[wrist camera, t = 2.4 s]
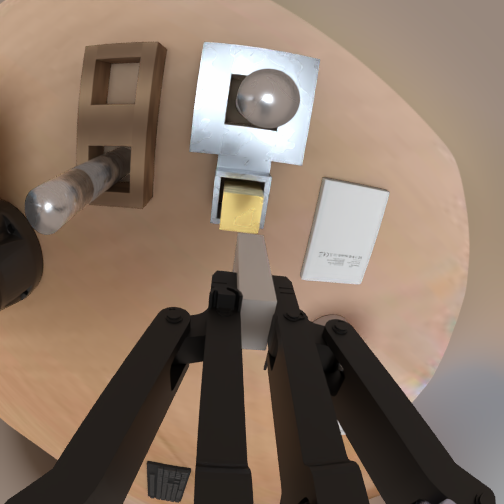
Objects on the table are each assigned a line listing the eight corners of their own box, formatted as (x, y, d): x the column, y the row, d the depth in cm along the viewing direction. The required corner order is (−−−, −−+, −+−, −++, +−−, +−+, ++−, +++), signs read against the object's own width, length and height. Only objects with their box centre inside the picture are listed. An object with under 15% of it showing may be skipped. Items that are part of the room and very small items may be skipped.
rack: (152, 197, 32) (142, 208, 29) (92, 192, 31) (77, 203, 28) (166, 49, 25) (157, 41, 22) (101, 51, 24) (85, 46, 21)
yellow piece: (221, 206, 31) (219, 229, 25) (225, 175, 29) (223, 192, 24) (253, 210, 31) (257, 233, 26) (258, 179, 30) (264, 196, 24)
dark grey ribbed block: (147, 458, 61) (146, 465, 59) (191, 466, 63) (190, 473, 61) (148, 493, 76) (148, 497, 74) (180, 498, 78) (180, 503, 76)
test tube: (108, 174, 31) (27, 232, 16) (109, 146, 29) (22, 186, 15) (135, 176, 31) (65, 236, 17) (136, 147, 30) (61, 187, 15)
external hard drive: (384, 188, 34) (357, 278, 39) (321, 175, 33) (298, 273, 38) (391, 192, 32) (361, 285, 38) (325, 179, 31) (301, 280, 37)
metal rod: (233, 115, 29) (233, 123, 15) (237, 85, 27) (241, 64, 13) (264, 120, 29) (294, 132, 15) (269, 90, 28) (304, 74, 14)
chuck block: (190, 203, 33) (183, 220, 28) (208, 51, 26) (204, 41, 21) (281, 214, 34) (288, 231, 30) (307, 66, 27) (320, 59, 22)
